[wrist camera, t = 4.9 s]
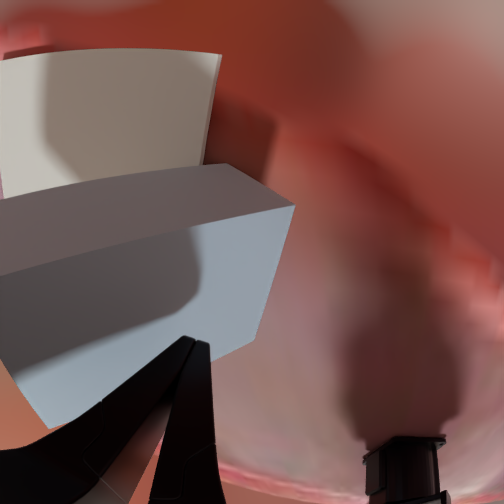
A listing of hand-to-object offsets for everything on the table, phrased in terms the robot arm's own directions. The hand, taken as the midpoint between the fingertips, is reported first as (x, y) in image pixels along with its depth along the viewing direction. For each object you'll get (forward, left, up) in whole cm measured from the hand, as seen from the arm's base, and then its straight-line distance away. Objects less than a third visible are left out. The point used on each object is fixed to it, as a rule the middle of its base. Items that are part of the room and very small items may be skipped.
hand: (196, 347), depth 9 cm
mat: (+9, 0, -7) cm, 12 cm away
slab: (0, 0, -5) cm, 5 cm away
